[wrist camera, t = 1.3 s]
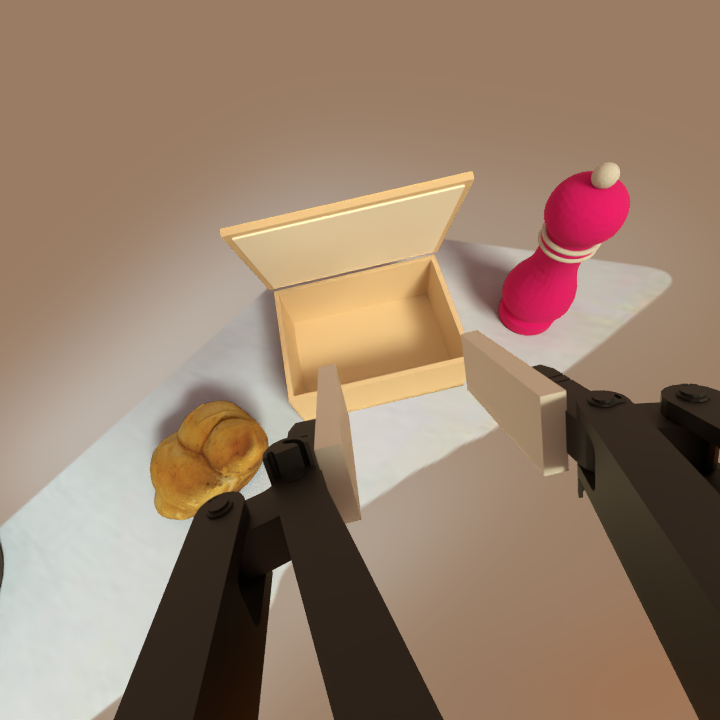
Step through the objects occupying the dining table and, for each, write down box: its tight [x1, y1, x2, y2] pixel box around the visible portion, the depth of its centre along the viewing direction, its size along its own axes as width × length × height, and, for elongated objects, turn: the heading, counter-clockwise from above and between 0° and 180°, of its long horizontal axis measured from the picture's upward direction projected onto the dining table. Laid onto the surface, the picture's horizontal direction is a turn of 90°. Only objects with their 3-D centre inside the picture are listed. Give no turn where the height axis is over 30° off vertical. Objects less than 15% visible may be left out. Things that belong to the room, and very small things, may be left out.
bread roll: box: [150, 401, 268, 520], centre depth 37 cm, size 13×10×8 cm
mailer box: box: [274, 255, 466, 421], centre depth 41 cm, size 18×13×7 cm
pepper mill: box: [498, 162, 630, 335], centre depth 36 cm, size 7×7×20 cm
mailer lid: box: [220, 171, 474, 290], centre depth 34 cm, size 19×14×1 cm
